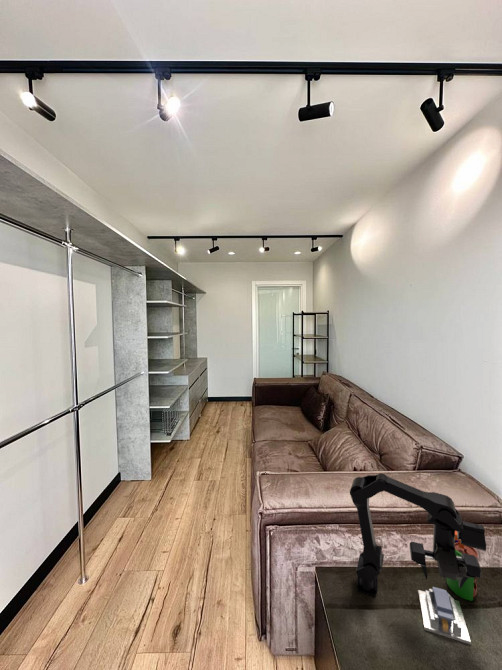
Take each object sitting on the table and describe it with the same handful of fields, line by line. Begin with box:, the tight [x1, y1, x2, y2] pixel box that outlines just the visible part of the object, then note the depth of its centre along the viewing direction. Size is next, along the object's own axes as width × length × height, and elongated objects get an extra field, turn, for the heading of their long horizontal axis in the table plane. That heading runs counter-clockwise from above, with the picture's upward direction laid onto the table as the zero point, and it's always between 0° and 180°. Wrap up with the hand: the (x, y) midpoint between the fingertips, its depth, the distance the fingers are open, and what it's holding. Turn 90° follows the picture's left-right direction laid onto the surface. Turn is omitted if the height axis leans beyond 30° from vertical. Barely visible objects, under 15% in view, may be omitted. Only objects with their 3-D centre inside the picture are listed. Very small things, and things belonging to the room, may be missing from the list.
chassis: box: [417, 588, 472, 645], centre depth 97 cm, size 12×13×4 cm
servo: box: [432, 586, 454, 629], centre depth 97 cm, size 4×10×5 cm, turn 158°
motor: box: [445, 531, 479, 601], centre depth 106 cm, size 10×9×20 cm
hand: (442, 582), depth 96 cm, fingers open, 9 cm apart
